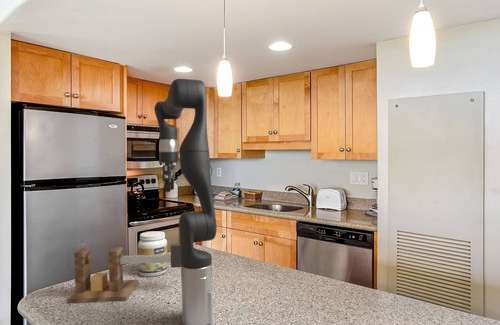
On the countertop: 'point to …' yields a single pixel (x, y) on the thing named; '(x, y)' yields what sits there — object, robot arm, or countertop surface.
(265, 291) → the countertop surface
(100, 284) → the ochre spacer
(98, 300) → the wooden shaft stand
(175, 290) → the countertop surface
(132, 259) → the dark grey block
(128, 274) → the countertop surface
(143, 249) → the supplement tub
